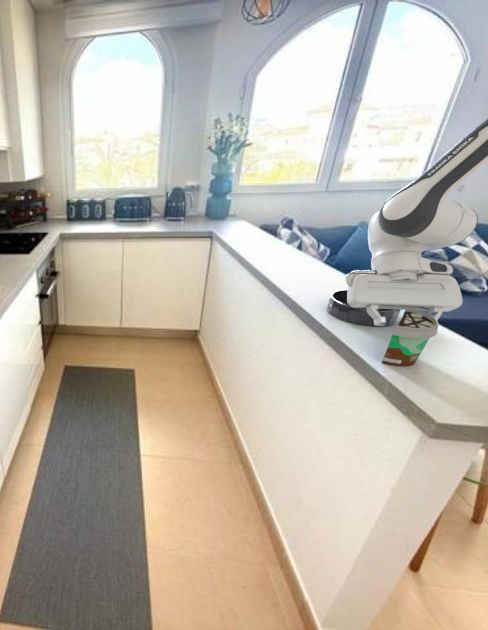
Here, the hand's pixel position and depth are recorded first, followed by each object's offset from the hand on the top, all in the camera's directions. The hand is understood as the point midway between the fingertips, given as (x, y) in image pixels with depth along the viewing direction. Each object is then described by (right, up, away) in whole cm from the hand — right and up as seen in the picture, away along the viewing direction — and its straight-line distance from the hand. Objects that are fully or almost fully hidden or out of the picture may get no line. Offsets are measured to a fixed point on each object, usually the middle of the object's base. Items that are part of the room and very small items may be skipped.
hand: (405, 326), depth 77 cm
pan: (+7, +3, +20) cm, 22 cm away
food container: (0, -8, 0) cm, 8 cm away
